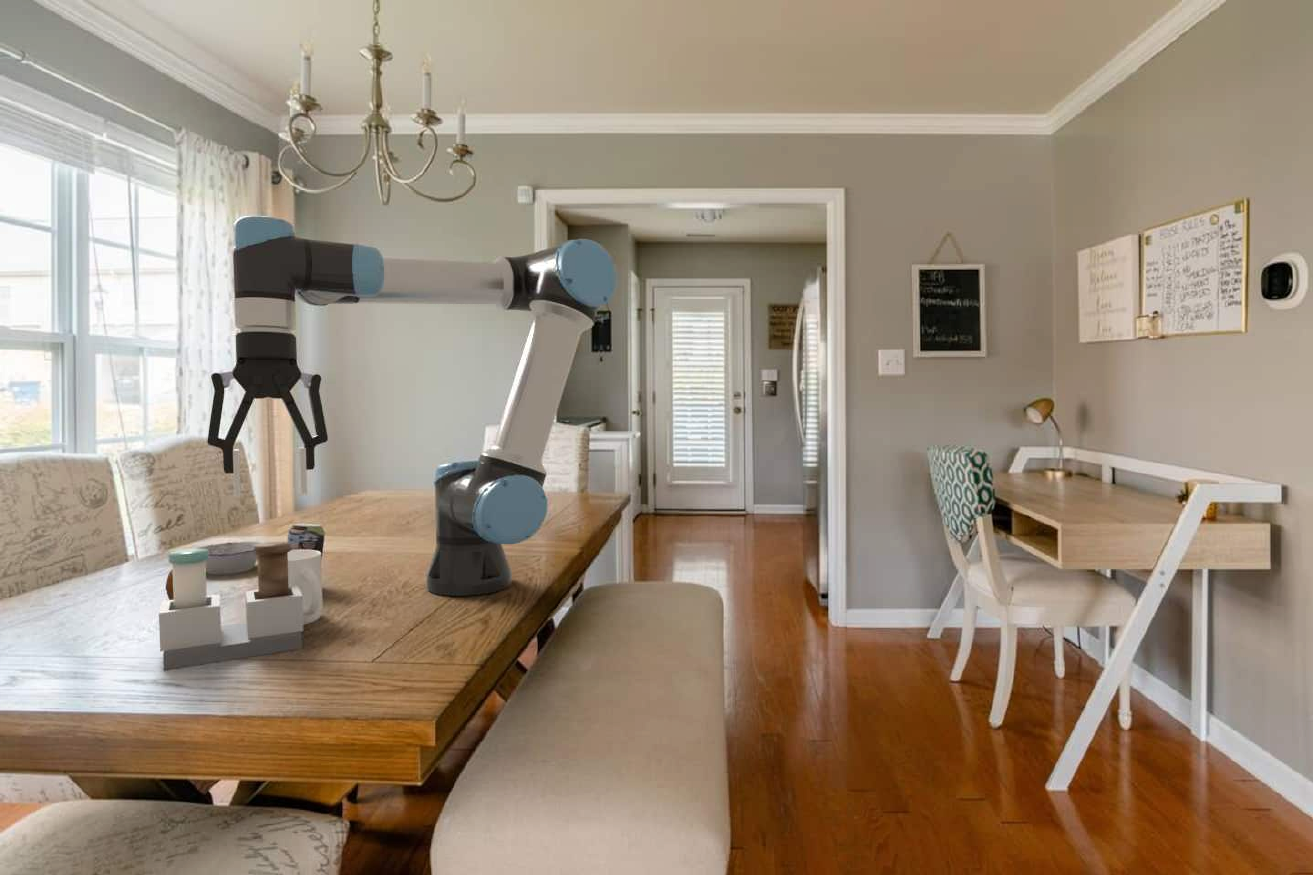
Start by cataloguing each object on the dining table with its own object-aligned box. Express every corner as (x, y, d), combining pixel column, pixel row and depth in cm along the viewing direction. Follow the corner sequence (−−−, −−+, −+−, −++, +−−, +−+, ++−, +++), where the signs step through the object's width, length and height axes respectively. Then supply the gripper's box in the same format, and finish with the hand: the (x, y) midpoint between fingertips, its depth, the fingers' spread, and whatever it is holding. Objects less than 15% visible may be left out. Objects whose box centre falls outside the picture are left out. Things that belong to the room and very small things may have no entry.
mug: (344, 623, 115) (342, 557, 114) (290, 636, 108) (288, 567, 108) (307, 609, 122) (306, 547, 122) (254, 620, 116) (252, 555, 115)
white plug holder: (298, 628, 112) (296, 582, 112) (304, 647, 103) (303, 598, 103) (164, 647, 104) (162, 598, 103) (160, 670, 95) (157, 616, 95)
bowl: (255, 575, 145) (254, 551, 145) (182, 579, 142) (181, 554, 142) (273, 561, 158) (272, 538, 157) (206, 564, 155) (205, 541, 154)
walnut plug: (290, 594, 109) (289, 540, 108) (293, 601, 105) (291, 545, 104) (254, 598, 107) (253, 543, 106) (256, 606, 103) (254, 549, 102)
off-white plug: (210, 604, 104) (208, 547, 103) (210, 612, 100) (208, 553, 99) (171, 608, 101) (169, 551, 101) (169, 617, 97) (167, 557, 97)
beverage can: (274, 591, 133) (272, 525, 132) (307, 582, 140) (306, 519, 139) (300, 595, 131) (299, 527, 130) (333, 585, 138) (331, 521, 137)
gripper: (341, 336, 112) (344, 487, 113) (180, 330, 102) (186, 496, 103) (348, 333, 106) (352, 493, 107) (177, 326, 95) (184, 503, 96)
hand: (270, 494), depth 105 cm, fingers open, 8 cm apart
